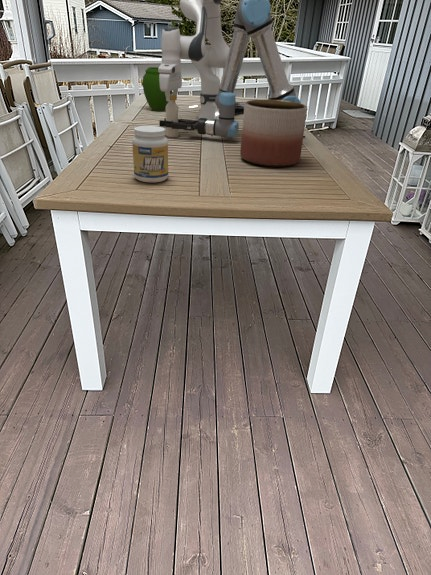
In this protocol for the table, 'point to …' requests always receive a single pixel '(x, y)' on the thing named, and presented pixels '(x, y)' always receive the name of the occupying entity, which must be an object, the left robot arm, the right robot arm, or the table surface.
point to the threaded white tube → (171, 118)
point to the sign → (239, 107)
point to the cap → (173, 97)
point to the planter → (272, 132)
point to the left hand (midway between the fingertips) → (171, 100)
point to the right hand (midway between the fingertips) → (162, 122)
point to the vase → (154, 90)
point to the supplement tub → (150, 154)
